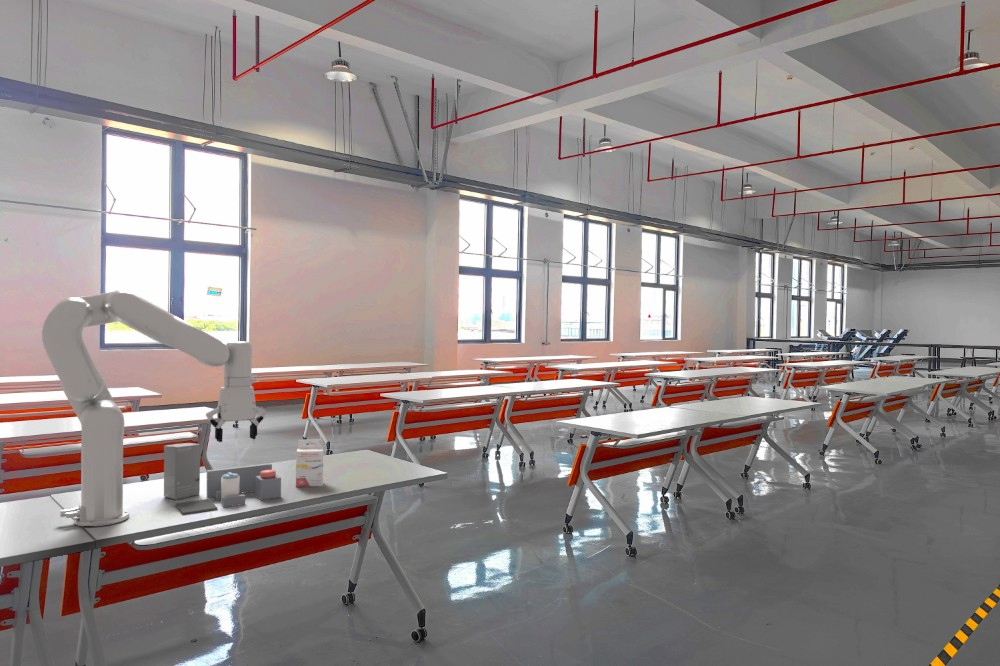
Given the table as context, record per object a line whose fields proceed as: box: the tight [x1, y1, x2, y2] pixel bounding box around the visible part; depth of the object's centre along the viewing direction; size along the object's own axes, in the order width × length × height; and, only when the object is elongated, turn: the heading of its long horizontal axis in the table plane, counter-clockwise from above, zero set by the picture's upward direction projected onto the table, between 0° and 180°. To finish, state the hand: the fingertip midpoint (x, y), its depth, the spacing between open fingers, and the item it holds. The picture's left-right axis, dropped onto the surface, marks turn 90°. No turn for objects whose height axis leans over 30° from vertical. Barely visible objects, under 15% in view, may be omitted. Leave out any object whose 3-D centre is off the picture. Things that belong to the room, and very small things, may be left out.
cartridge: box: [220, 472, 240, 504], centre depth 192 cm, size 5×5×8 cm
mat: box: [175, 498, 218, 516], centre depth 186 cm, size 9×11×1 cm
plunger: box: [261, 469, 277, 479], centre depth 199 cm, size 4×4×6 cm
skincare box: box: [163, 442, 201, 501], centre depth 198 cm, size 8×7×16 cm
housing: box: [206, 462, 282, 508], centre depth 197 cm, size 19×15×8 cm
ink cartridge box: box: [295, 438, 324, 488], centre depth 213 cm, size 9×5×15 cm, turn 105°
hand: (236, 439), depth 193 cm, fingers open, 9 cm apart
